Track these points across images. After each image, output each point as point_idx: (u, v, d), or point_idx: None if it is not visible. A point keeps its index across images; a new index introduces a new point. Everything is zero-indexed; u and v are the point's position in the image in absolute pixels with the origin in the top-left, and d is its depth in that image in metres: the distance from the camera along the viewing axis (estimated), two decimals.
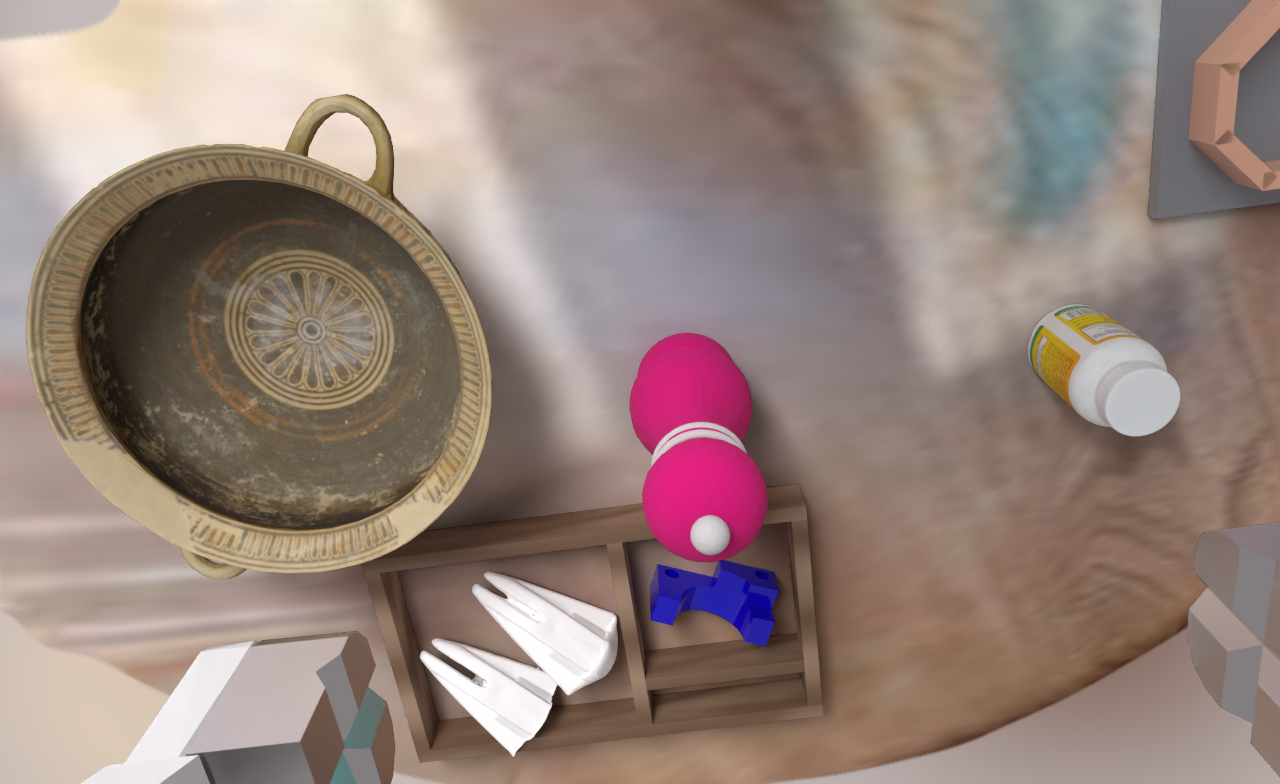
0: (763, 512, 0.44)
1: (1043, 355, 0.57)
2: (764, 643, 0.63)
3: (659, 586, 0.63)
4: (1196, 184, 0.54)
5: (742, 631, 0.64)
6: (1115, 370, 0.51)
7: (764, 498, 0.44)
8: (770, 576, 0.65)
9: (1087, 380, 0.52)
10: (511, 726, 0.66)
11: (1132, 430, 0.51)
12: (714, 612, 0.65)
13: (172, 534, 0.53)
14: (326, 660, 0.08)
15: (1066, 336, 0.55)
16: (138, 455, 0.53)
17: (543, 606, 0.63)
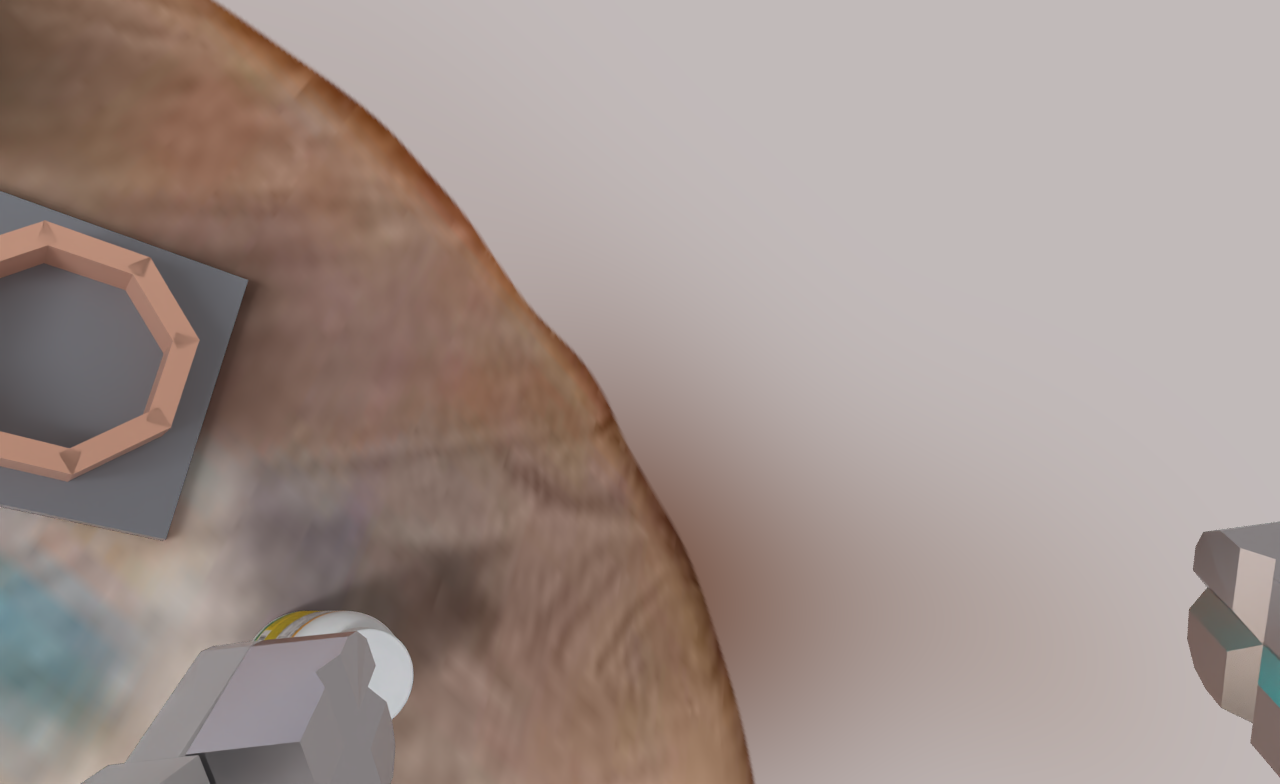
0: None
1: None
2: None
3: None
4: (139, 482, 0.42)
5: None
6: None
7: None
8: None
9: None
10: None
11: (399, 697, 0.38)
12: None
13: None
14: (326, 660, 0.08)
15: None
16: None
17: None
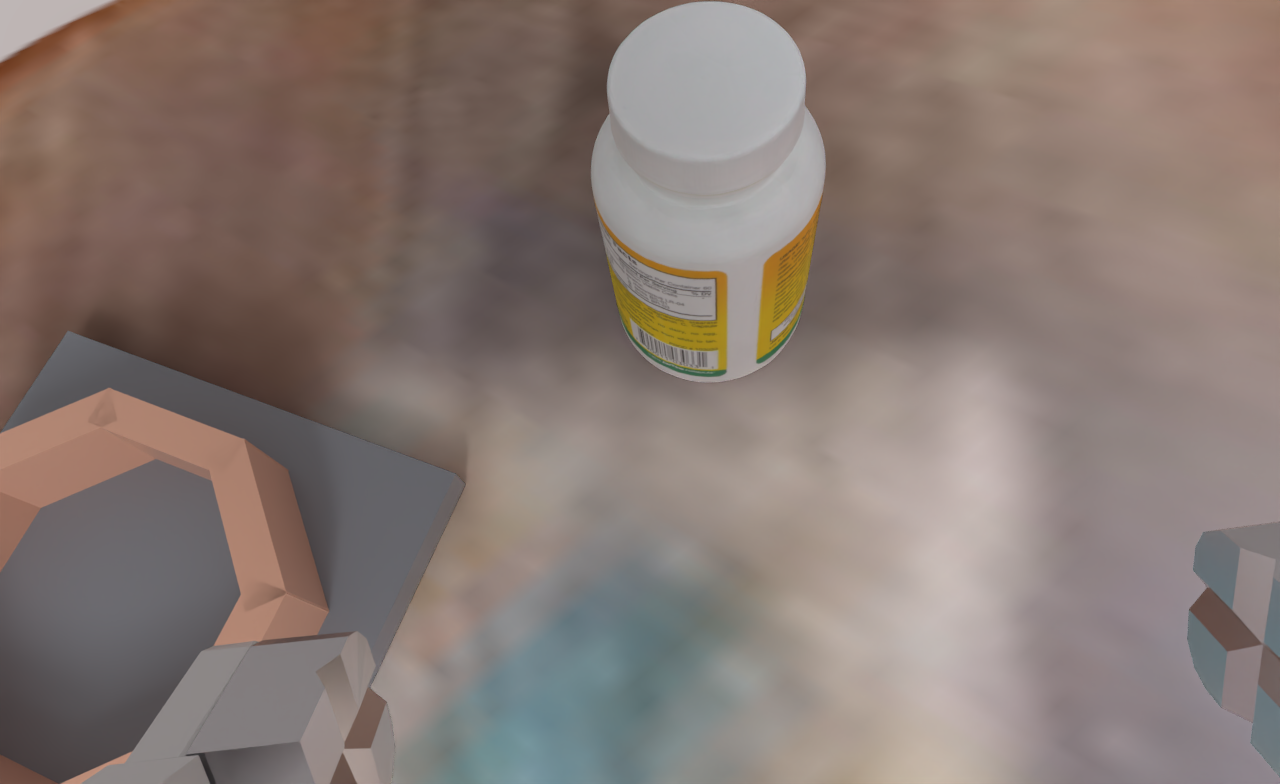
0: None
1: (797, 300, 0.24)
2: None
3: None
4: (355, 506, 0.25)
5: None
6: (729, 185, 0.19)
7: None
8: None
9: (786, 196, 0.20)
10: None
11: (754, 24, 0.19)
12: None
13: None
14: (326, 661, 0.08)
15: (746, 319, 0.23)
16: None
17: None
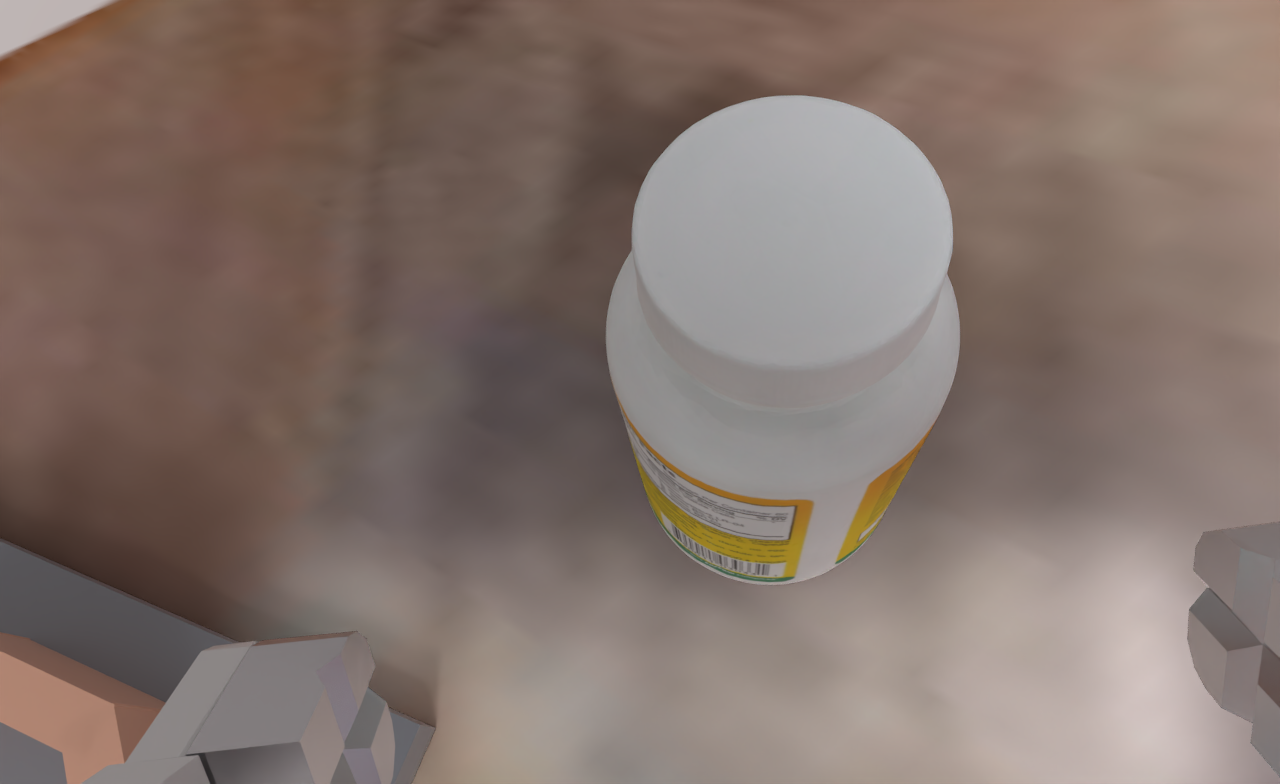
0: None
1: None
2: None
3: None
4: None
5: None
6: (829, 395, 0.12)
7: None
8: None
9: (909, 392, 0.13)
10: None
11: (864, 133, 0.12)
12: None
13: None
14: (325, 660, 0.08)
15: (831, 534, 0.16)
16: None
17: None
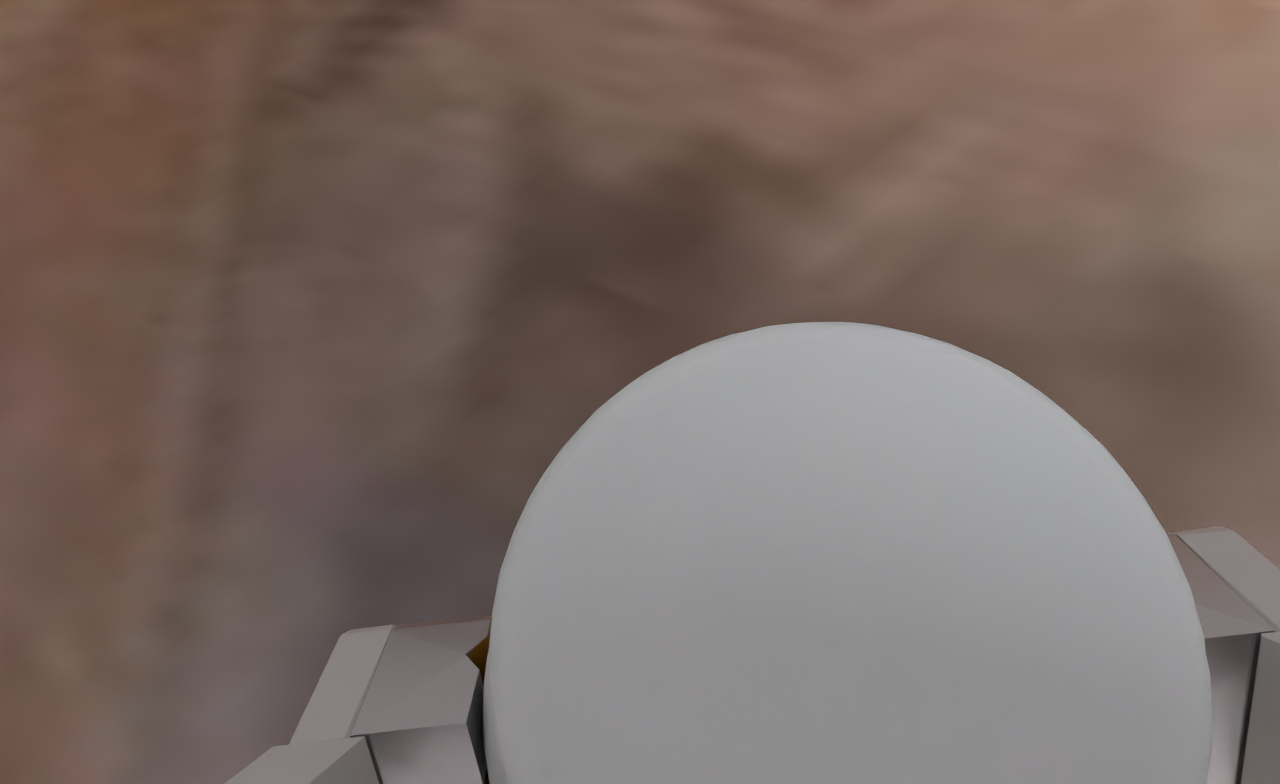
0: None
1: None
2: None
3: None
4: None
5: None
6: None
7: None
8: None
9: None
10: None
11: (991, 420, 0.06)
12: None
13: None
14: (473, 643, 0.08)
15: None
16: None
17: None
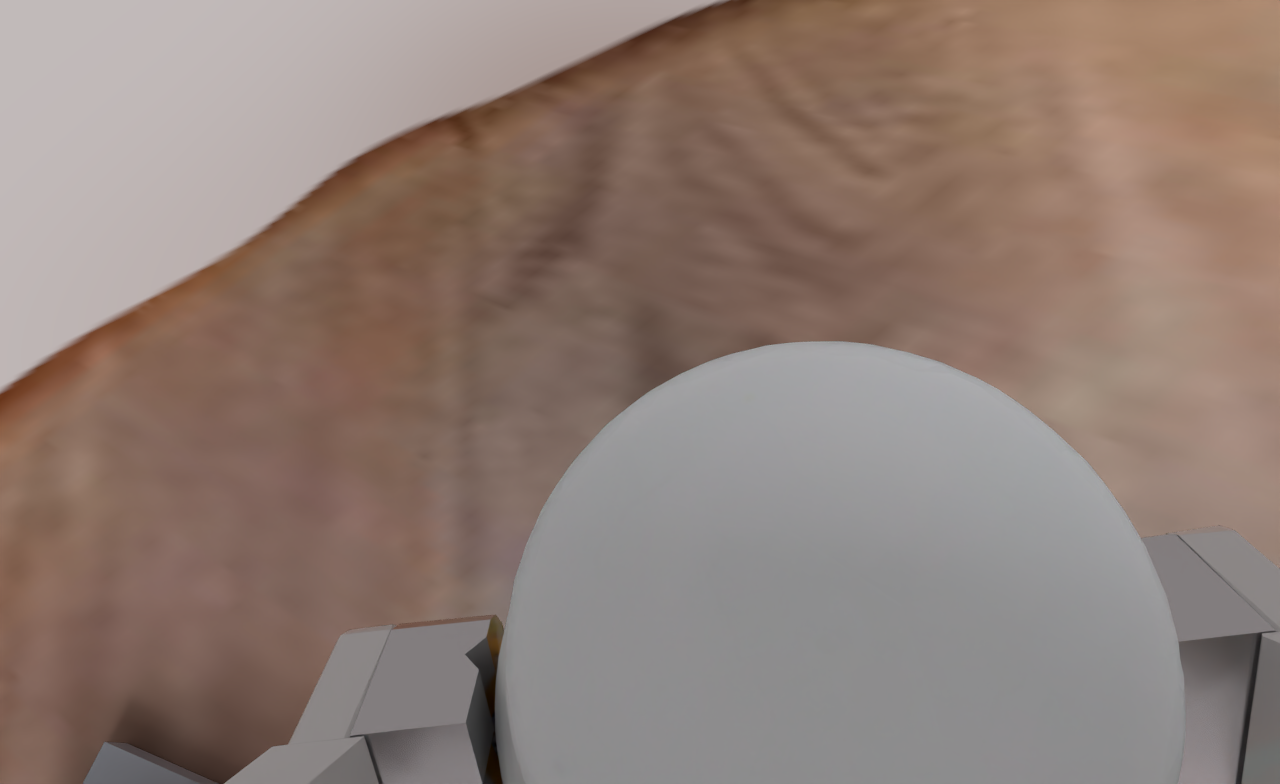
0: None
1: None
2: None
3: None
4: None
5: None
6: None
7: None
8: None
9: None
10: None
11: (980, 434, 0.06)
12: None
13: None
14: (472, 643, 0.08)
15: None
16: None
17: None
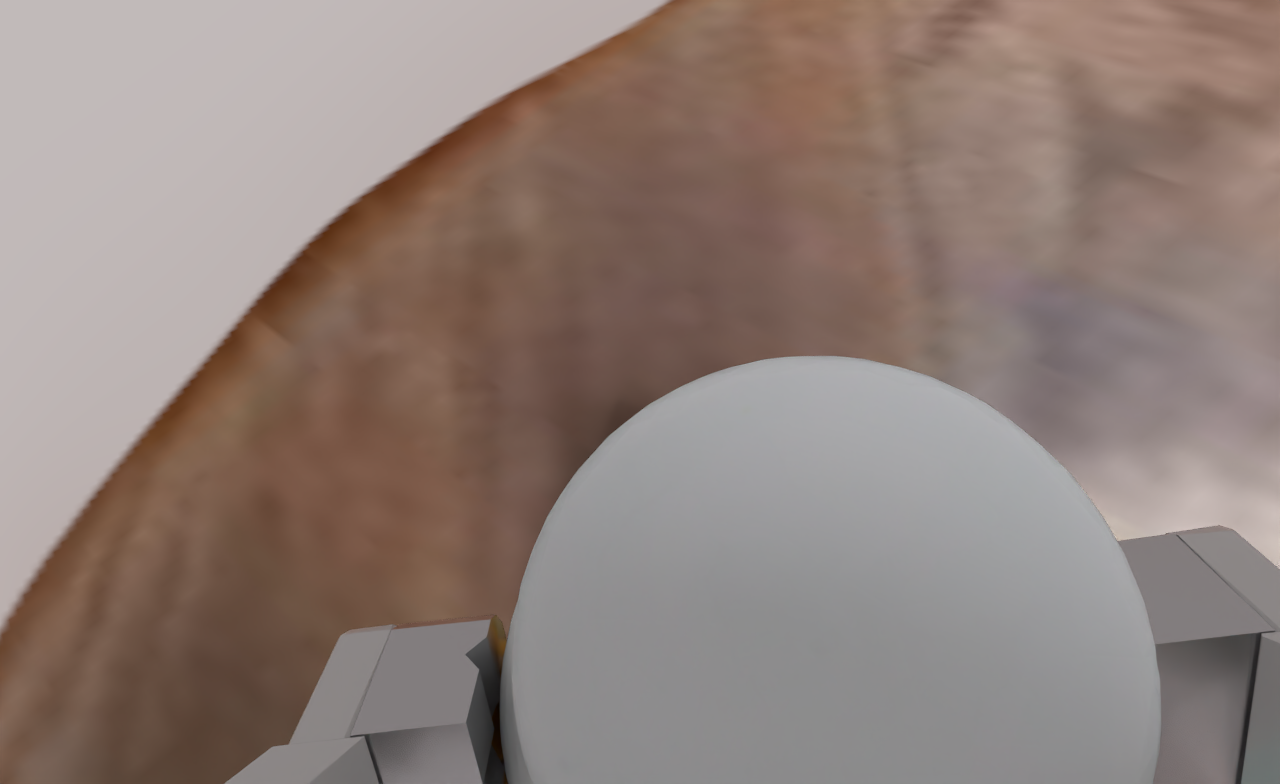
0: None
1: None
2: None
3: None
4: None
5: None
6: None
7: None
8: None
9: None
10: None
11: (967, 448, 0.06)
12: None
13: None
14: (473, 643, 0.08)
15: None
16: None
17: None
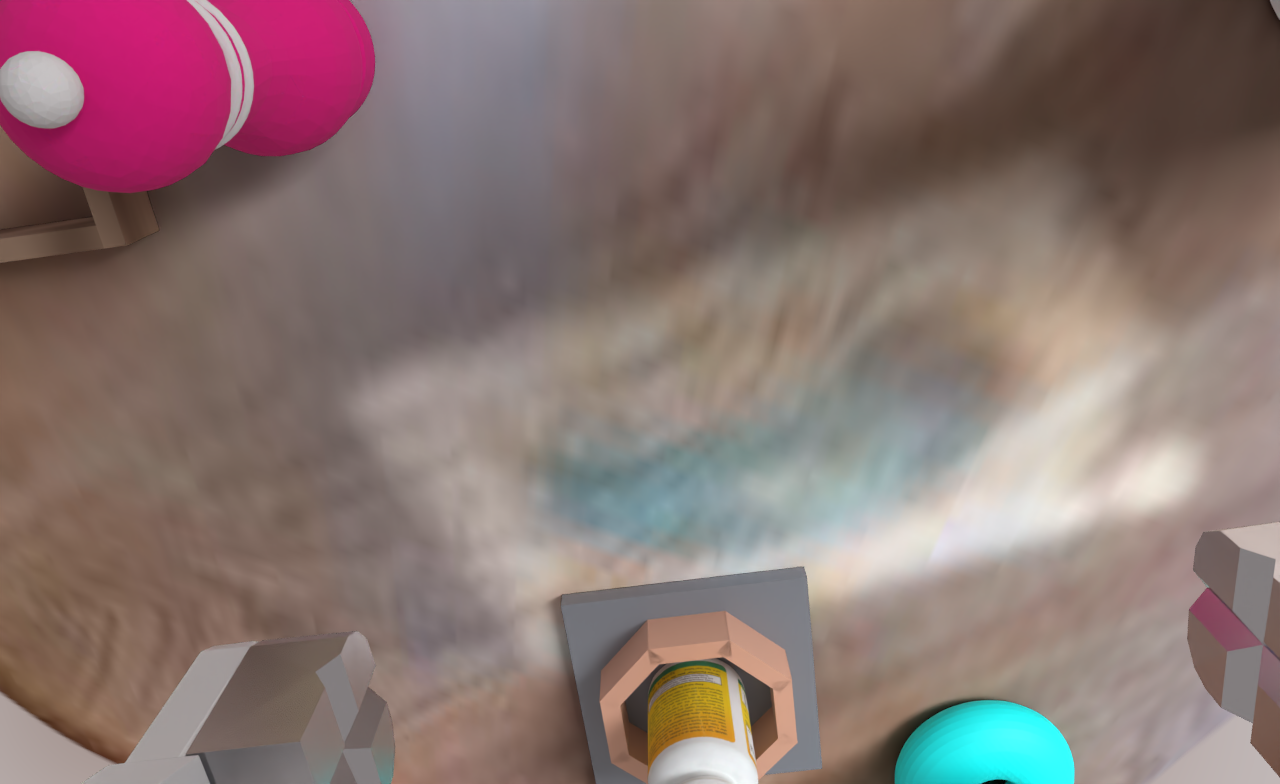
0: (108, 187, 0.25)
1: (702, 684, 0.48)
2: None
3: None
4: (599, 635, 0.50)
5: None
6: None
7: (135, 187, 0.26)
8: None
9: (715, 759, 0.44)
10: None
11: None
12: None
13: None
14: (325, 660, 0.08)
15: (735, 710, 0.48)
16: None
17: None
